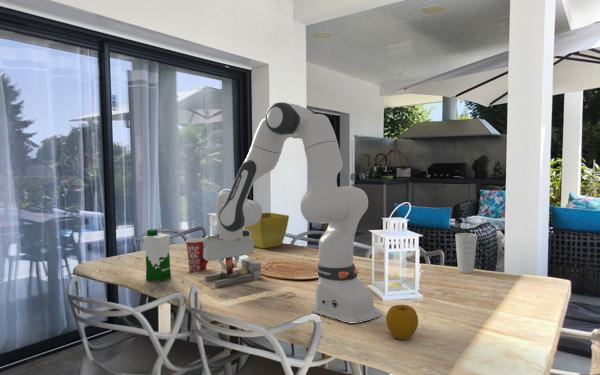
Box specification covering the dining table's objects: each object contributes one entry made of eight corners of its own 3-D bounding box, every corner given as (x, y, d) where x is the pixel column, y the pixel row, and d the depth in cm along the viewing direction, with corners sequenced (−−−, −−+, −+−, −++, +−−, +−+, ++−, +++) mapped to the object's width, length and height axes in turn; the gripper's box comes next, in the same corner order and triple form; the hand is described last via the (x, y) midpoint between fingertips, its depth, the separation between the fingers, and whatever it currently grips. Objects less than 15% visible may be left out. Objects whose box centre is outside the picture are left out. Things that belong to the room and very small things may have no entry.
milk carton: (156, 275, 183) (154, 228, 181) (174, 276, 180) (172, 228, 179) (142, 280, 175) (140, 231, 173) (161, 282, 172) (159, 232, 170)
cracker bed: (264, 282, 170) (264, 263, 169) (212, 293, 157) (212, 273, 156) (247, 274, 181) (246, 257, 181) (197, 284, 168) (196, 265, 168)
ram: (238, 280, 167) (237, 257, 166) (229, 282, 165) (228, 259, 164) (230, 276, 172) (229, 254, 172) (220, 278, 170) (220, 255, 169)
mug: (182, 271, 188) (181, 240, 187) (199, 266, 195) (198, 237, 194) (201, 276, 181) (200, 243, 180) (218, 271, 188) (217, 240, 187)
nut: (249, 277, 171) (249, 267, 171) (240, 279, 169) (240, 269, 169) (244, 275, 175) (244, 265, 174) (235, 277, 172) (235, 267, 172)
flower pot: (269, 240, 252) (269, 212, 251) (290, 245, 238) (289, 215, 237) (242, 245, 240) (241, 215, 239) (261, 251, 226) (261, 218, 224)
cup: (455, 273, 178) (455, 236, 176) (454, 268, 186) (454, 232, 185) (477, 275, 175) (478, 237, 174) (475, 269, 183) (476, 233, 182)
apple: (403, 347, 111) (403, 314, 110) (378, 336, 118) (378, 305, 117) (424, 339, 116) (425, 306, 115) (400, 329, 123) (400, 298, 122)
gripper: (206, 237, 158) (207, 275, 159) (255, 231, 171) (256, 265, 172) (199, 235, 163) (200, 271, 165) (247, 229, 176) (248, 262, 177)
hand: (229, 268), depth 168 cm, fingers closed on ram, 3 cm apart
